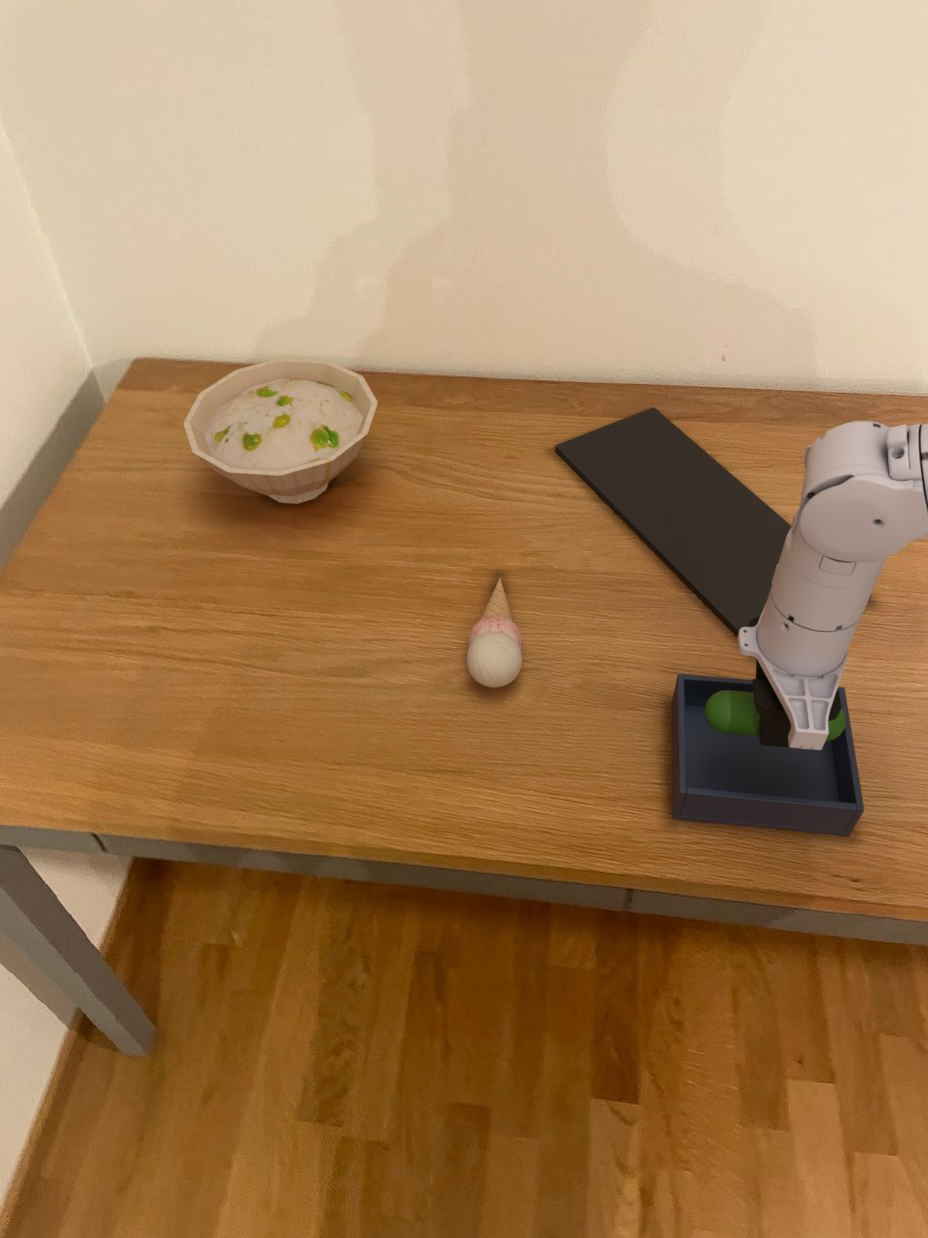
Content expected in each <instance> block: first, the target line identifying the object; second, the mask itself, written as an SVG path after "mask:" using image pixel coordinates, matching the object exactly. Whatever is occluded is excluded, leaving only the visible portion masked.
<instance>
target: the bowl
mask: <svg viewBox="0 0 928 1238" xmlns="http://www.w3.org/2000/svg"><path fill="white" fill-rule="evenodd" d="M378 404H379V402H378V400H377V398H376V397H375V395H374V392H373V391H372V390H371V388H370V386H369V384H368V382H367V380H366V379H365V377H364V376H363V375H361V374H359V373H358V372H355V371H352V370H351V369H348V368H346V367H344V366H341V365H340V364H338V363H335V362H333V361H330V360H328V359H310V358H293V357H292V358H291V357H290V358H289V357H288V358H287V357H285V358H284V357H281V358H276V359H272V360H269V361H265V362H261V363H257V364H253V365H249V366H245V367H241V368H237V369H235V370H233V371H232V372H230V373H229V374H226V376H223V377H222V378H221V379H219V380H218V381H216V382H215V383H212V384H211V385H209V386H208V387H207V388H205V389H204V390H202V391H201V392H199V394H198V395H197V397H196V398H195V400H194V403H193V405H192V406H191V408H190V410H189V412H188V413H187V415H186V417H185V419H184V421H183V423H182V425H183V427H184V430H185V433H186V436H187V440H188V442H189V445H190V448H191V452H192V453H193V454H194V455H195V456H196V457H198V458H199V459H200V461H202V462H203V463H204V464H206V466H208V467H209V468H210V469H212V470H213V471H214V472H216V473H218V474H219V475H221V476H223V477H224V478H226V479H228V480H230V481H232V482H234V484H235V483H236V484H237V485H239V486H241V487H242V488H245V489H248V490H250V491H252V492H255V493H259V494H260V495H264V496H268V497H269V498H271V499H272V500H274V501H276V502H278V503H280V504H281V503H283V504H296V505H297V504H300V503H301V504H302V503H304V502H307V501H311V500H314V499H316V498H317V497H318V496H319V495H322V493H324V492H325V491H326V490H327V488H328V486H329V483H330V481H332V480H333V479H334V478H336V477H337V476H339V474H341V473H342V472H343V471H344V470H345V469H346V468H347V467H348V466H349V465H350V464H351V463H352V462H353V461H354V460H355V459H356V458H357V457H358V456H359V454H360V452H361V450H362V447H363V445H364V443H365V441H366V439H367V436H368V434H369V431H370V427H371V425H372V422H373V418H374V416H375V413H376V411H377V410H376V409H377V407H378Z"/></svg>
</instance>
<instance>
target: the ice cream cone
mask: <svg viewBox="0 0 928 1238" xmlns="http://www.w3.org/2000/svg"><path fill="white" fill-rule="evenodd" d="M503 585H504V584H503V582H502V579H501V577H499V578H498V580H497V583H496V585H495V587H494V589H493V592H492V594H491V596H490V598H489V601H488V603H487V605H486V607H485V609H484V611H483V614H482V615H481V618H480V619H479V620H478V621H477V622H476V623H474V625H473V626H472V628H471V630H470V632H469V635H468V639H467V644H468V645H467V646H468V649H467V653H466V657H465V658H466V665H467V666H466V667H467V671H468V672H469V674H470V675H471V677H472V678H473V679H474V680H475V682H476V683H478V684H480V685H481V686H485V687H488V688H502V687H505V686H507V685H509V684H510V683H512V682H513V681H514V680H515V679H516V678H517V677H518V676H519V673H520V672H521V669H522V666H523V655H522V651H523V646H524V640H523V636H522V632H521V630H520V628H519V627H518V625H517V624H516V623H515V622H514V620H513V617H512V613H511V610H510V607H509V603H508V599H507V596H506V593H505V589H504V586H503Z"/></svg>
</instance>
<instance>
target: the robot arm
mask: <svg viewBox="0 0 928 1238" xmlns="http://www.w3.org/2000/svg"><path fill="white" fill-rule="evenodd" d="M803 456H804V458H803V459H804V460H803V461H804V462H803V464H804V476H803V482H802V490H801V496H800V503H799V507H798V510H796V512H795V514H794V515H793V518H792V522H791V526H792V527H791V528H790V530H789V532H788V534H787V536H786V540H785V543H784V546H783V550H782V553H781V556H780V559H779V563H778V564H777V566H776V569H775V573H774V576H773V579H772V586H771V589H770V593H769V596H768V599H767V602H766V604H765V607H764V609H763V612H762V614H761V616H760V617H755V618H753V619H752V620H750V622H749V624H748V627H742V628H741V629H740V630H739V634H738V637H737V648H738V652H739V653H740V654H741V655H742V656H745V657H753V658H755V678H753V679H752V680H753V695H754V703H755V707H756V710H757V712H758V714H759V715H760V721H759V737H760V744H761V745H765V746H777V747H791V748H800V749H810V750H811V749H813V750H822V747H823V745H824V743H825V741H826V739H827V736H828V734H829V729H828V721H832V720H835V719H836V718H837V717H838V715H839V713H840V711H841V701H840V695H839V690H837V688H838V687H839V685H840V682H841V679H842V676H843V673H844V670H845V667H846V664H847V661H848V658H849V652H850V651H849V647H850V645H851V643H852V640H853V638H854V636H855V633H856V631H857V629H858V626H859V624H860V621H861V619H862V617H863V615H864V613H865V609H866V607H867V605H868V603H869V601H870V600H869V598H870V596H871V595H872V594H873V591H874V589H875V586H876V584H877V581H878V580H879V577H880V574H881V572H882V571H883V568H884V566H885V562H886V559H888V558H890V557H892V556H894V555H895V554H897V553H898V552H900V551H902V550H903V549H904V548H905V547H906V546H907V545H908V544H910V543H912V542H915V541H919V540H925V539H926V536H928V422H922V423H916V424H912V425H907V424H900V425H896V426H888V425H886V424H883V423H881V422H877V421H871V420H854V421H848V422H846V423H845V422H844V423H842V424H840V425H838V426H835V427H832V428H831V429H828V430H827V431H825V435H824V436H819V437H818V438H816V440H815V441H814V442H813V443H812V444H811V445H808V446H806V447H805V450H804V455H803ZM871 597H872V596H871ZM870 599H871V598H870ZM868 600H869V601H868Z"/></svg>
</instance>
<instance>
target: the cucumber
mask: <svg viewBox="0 0 928 1238" xmlns="http://www.w3.org/2000/svg"><path fill="white" fill-rule="evenodd" d="M705 717H706V719H707V722H708V723H709V725H710V726H711V727H712V728H713V729H715V730H716V731H719V732H721V733H726V734H738V735H749V736H759V721H760V715H759V714H758V712H757V710H756V707H755V703H754V695H753V692H743V691H731V690H723V691H719V692H717V693H715V694H713V695H712V696H711V697H710V698H709V699H708V701H707V703H706V706H705ZM844 727H845V714H844V712H843V710H842V709H841V711H840V713H839V715H838V717H837V718H836V719H835V720H832V721H828V729H829V734H828V736H827V739H826V741H825V742H827V741H831V740H833V739H835V738H837V737H838V736H839V735H840V734H841V733H842V731H843V730H844Z"/></svg>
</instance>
